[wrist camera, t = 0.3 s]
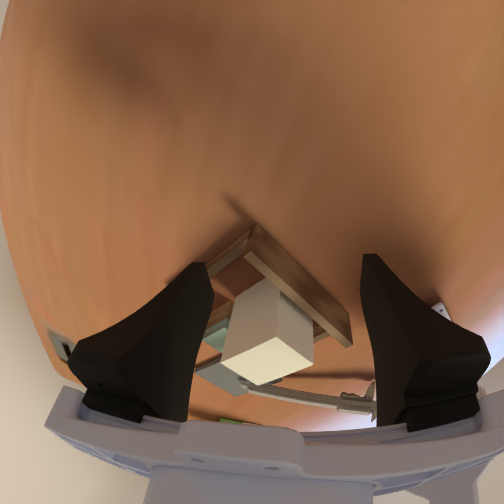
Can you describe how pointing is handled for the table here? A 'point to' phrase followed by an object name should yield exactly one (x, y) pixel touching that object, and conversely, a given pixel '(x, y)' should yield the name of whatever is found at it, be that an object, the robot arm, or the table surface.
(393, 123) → the table surface
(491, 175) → the table surface
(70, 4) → the table surface
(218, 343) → the block
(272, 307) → the cream tapered prism
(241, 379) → the mat
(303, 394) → the caliper
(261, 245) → the frame
